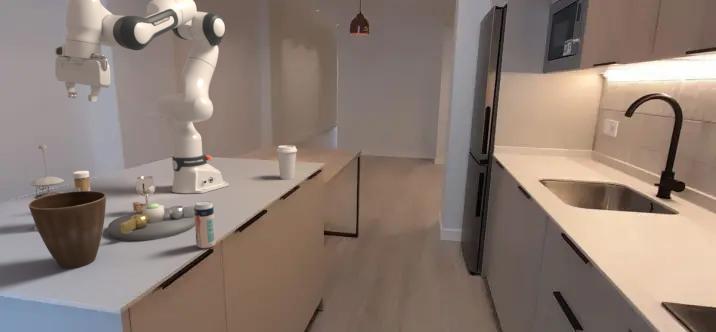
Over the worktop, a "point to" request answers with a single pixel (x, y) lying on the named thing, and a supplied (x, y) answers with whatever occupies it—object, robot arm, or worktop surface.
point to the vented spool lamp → (45, 182)
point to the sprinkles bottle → (81, 181)
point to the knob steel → (181, 212)
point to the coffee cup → (287, 161)
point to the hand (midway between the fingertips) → (82, 99)
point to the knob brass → (134, 223)
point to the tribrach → (152, 225)
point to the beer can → (204, 224)
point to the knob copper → (138, 207)
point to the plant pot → (71, 225)
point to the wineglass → (145, 186)
